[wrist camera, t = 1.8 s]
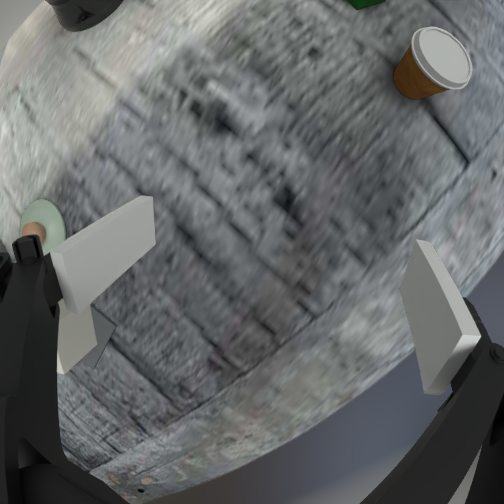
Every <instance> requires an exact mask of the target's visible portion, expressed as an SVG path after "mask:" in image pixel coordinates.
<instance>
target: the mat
mask: <svg viewBox="0 0 504 504" xmlns="http://www.w3.org/2000/svg"><path fill="white" fill-rule="evenodd" d="M62 299H63V298H62ZM90 307H91V313H92V319H93V325H94V330H95V336H96V341H97V345H96V346H95V347H94V348H93V349H92V350H91V351H90V352H88V353H87V354H86V355H85V356H84V357H83V358H82V359H81V361H83V362H84V363H85V364H86V365H87V366H89V367H90V368H91V369H92V370H93V369H94V368H95V366H96V364H97V362H98V361H99V359H100V357H101V355H102V353H103V351H104V349H105V347H106V345H107V343H108V341H109V340H110V338H111V336H112V334H113V332H114V330H115V329H116V327H117V325H116V324H115V323H114V322H112V321H111V320H110V319H109V318H107V317H106V316H105V315H104V314H103V313H101V312H100V311H99V310H98V309H97V308H96V307H94V306H93V305H92V304H90Z"/></svg>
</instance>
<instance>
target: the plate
mask: <svg viewBox="0 0 504 504" xmlns="http://www.w3.org/2000/svg"><path fill="white" fill-rule="evenodd" d="M30 222H38V223H39V224H40V225H42V226H43V227H44V228H45V231H46V238H45V240H44V242H43V243H42V245H41V246H42V250H43V254H44V256H45V255H46V254H47V253H49V252H50V250H52V249H53V248H55V247H56V246H58V245H59V244H61V243H62V242H64V241H65V240H66V226H65V221H64V218H63V216H62V213H61V212H60V210H59V209H58V207H57V206H56V205H55V204H54V203H53V202H51V201H49V200H45V199H40V200H35V201H33V202H32V203H30V204H29V205H28V206H27V208H26V209H25V211H24V213H23V215H22V218H21V223H20V238H21V237H22V229H23V226H24V225H25V224H26V223H30Z"/></svg>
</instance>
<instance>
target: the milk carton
mask: <svg viewBox="0 0 504 504" xmlns="http://www.w3.org/2000/svg"><path fill="white" fill-rule="evenodd" d="M348 1H349V2H350V3H351V4H352V5H353V6H354V7H355V8H356V9H357V10H358V9H361V8H364V7H368V6H371V5H374V4H378V3H382V2H385V1H386V0H348Z"/></svg>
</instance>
